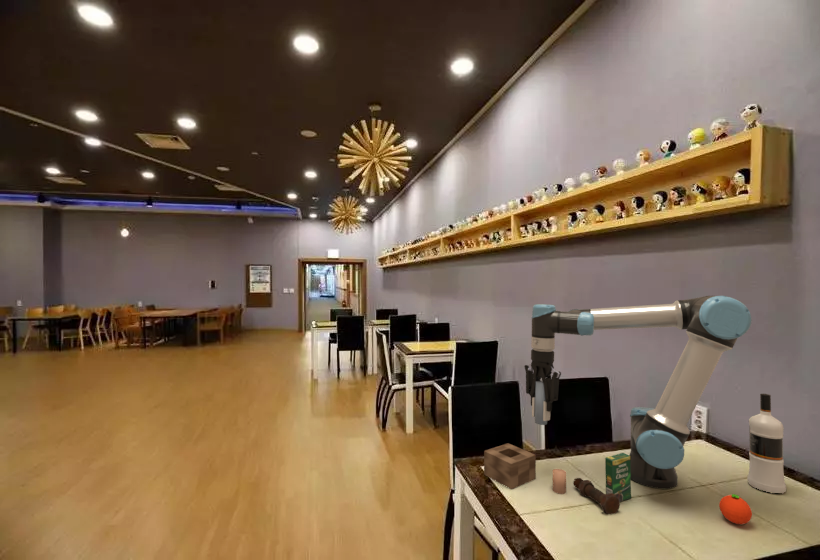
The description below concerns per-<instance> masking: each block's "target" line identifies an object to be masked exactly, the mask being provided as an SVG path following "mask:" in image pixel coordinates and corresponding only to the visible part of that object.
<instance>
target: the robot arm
mask: <svg viewBox="0 0 820 560" xmlns="http://www.w3.org/2000/svg"><path fill="white" fill-rule="evenodd" d="M752 321H753V320H752V314H751V312H750V310H749V309H748V307H747V305H746V304H745V303H743V302H741V301H740V300H737V299H736V298H733V297H732V296H731V297H730V296H726V295H703V296H699V297H695V298H687V299H679V300H678V299H677V300H675V301H674V302H673V303H664V304H663V303H661V304H649V305H648V304H647V305H634V306H617V307H616V306H615V307H600V308H598V307H597V308H586V309H585V308H584V309H577V308H574V309H570V310H568V311H560V310H557V309H556V306H555V305H553V304H545V303H544V304H543V303H541V304H537V303H536V304H534V305H533V306H532V313H531V343H530V344H531V348H532V349H531V350H530V360H531V362H530V364H525V365H524V366H523V367H524V370H525V393H526V394H527V395H529V397H530V406H531V417H532V418H535V391H536V381H539V380H542V381H543V384H544V391H545V399H546V400H544V403H543V421H547V422H548V421H550V420H551V412H552V411H553V402H556V401H558V400H559V390H560V389H559V386H560V378H561V375H562V372H561V371H558V370H556V369H555V367H554V361H555V352H554V350H555V339H556V338H555V336H556V335H555V334H563V335H576V336H582V337H583V336H592V335H594V331H596V330H598V331H600V330H601V331H602V330H622V329H624V330H625V329H649V328H650V329H651V328H653V329H654V328H672V327H673V328H674V327H675V328H677V329H678V330H681V331H682V330H686V331H685V333H686V335H687V337H688V340H687V343H686V345H685V347H684V349H683V351H682V353H681V354H680V357H679V359H678V361H677V363H676V365H675V368H674V369H673V371H672V374H671V375H670V377H669V380H668V382H667V384H666V386H665V388H664V390H663V392H662V394H661V396H660V398H659V400H658V402H657V404H656V406H655V408H654V407H644V406H643V407H642V406H634V407H632V408H631V409H630V414H629V417H630V452H629V453H628V455H629V456H630V469H631V480H632V481H634V483H635V482H636V483H638V484H640V485H642V486H647V487H649V488H655V489H665V490H667V489H673V488H675V487H677V486H678V484H679V482H678V481H679V479H678V474H677V471H676V467H678V466H679V465H681V464H682V462H683V460H684V458H685V448H684V446H685V443H686V442H687V440H688V437H689V435H690V434H691V432H690V429H689V428H688V427H689V426H688V423H689V421H690V420H691V417H692V415H693V413H694V411H695V409H696V406H697V405H698V403H699V401H700V399H701V397H702V395H703V393H704V391H705V389H706V387H707V385H708V383H709V381H710V379H711V378H712V375H713V373H714V371H715V369H716V367H717V365H718V363H719V361H720V359H721V357H722V355H723V353H724V352H727V351H730V350H732V349H733V348H734V346H735V344H736V342H737V340H738V339H739V338H740V337H742V336H743V335H745V334H746V333H747V332H748V331H749V330H750V328H751V325H752Z"/></svg>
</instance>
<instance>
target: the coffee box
mask: <svg viewBox="0 0 820 560" xmlns="http://www.w3.org/2000/svg"><path fill="white" fill-rule="evenodd" d="M604 460H605V463H604V465H605V472H604V473H605V494H610V493H613V494H615V495H616V497H617V498H618V500H619V502H623V501H628V500H630V499H632V487H631V486H632V484H631V483H632V481H631V469H630V456H629V454H627V453H625V452H620V453H618V454H613V455H610V456H609V455H608V456H605V458H604Z"/></svg>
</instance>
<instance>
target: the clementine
mask: <svg viewBox="0 0 820 560" xmlns="http://www.w3.org/2000/svg"><path fill="white" fill-rule="evenodd" d="M718 507H719V510H720V513H721V514H722V515H723V517H724V518H725V519H726V520H727V521H729V522H731V523H733V524H736V525H745V524H748V523H749V522H750V521H751V520H752V517H753V512H752V511H753V510H752V508H751V507H750V505H749V504H748V502H747V501H745V499H743V498H742V497H740V496H739V495H738V494H736V493H735V494H734V493H732V494H727V495H725V496H723V497H721V499H720V501H719V505H718Z"/></svg>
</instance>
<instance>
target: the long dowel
mask: <svg viewBox="0 0 820 560" xmlns="http://www.w3.org/2000/svg"><path fill="white" fill-rule="evenodd" d="M544 400H546V399H545V391H544V384H543V381H542V379H540V380H539V381H536V391H535V417H534V423H535V424H536V425H540V426H546V425H548V421H543V403H544Z"/></svg>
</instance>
